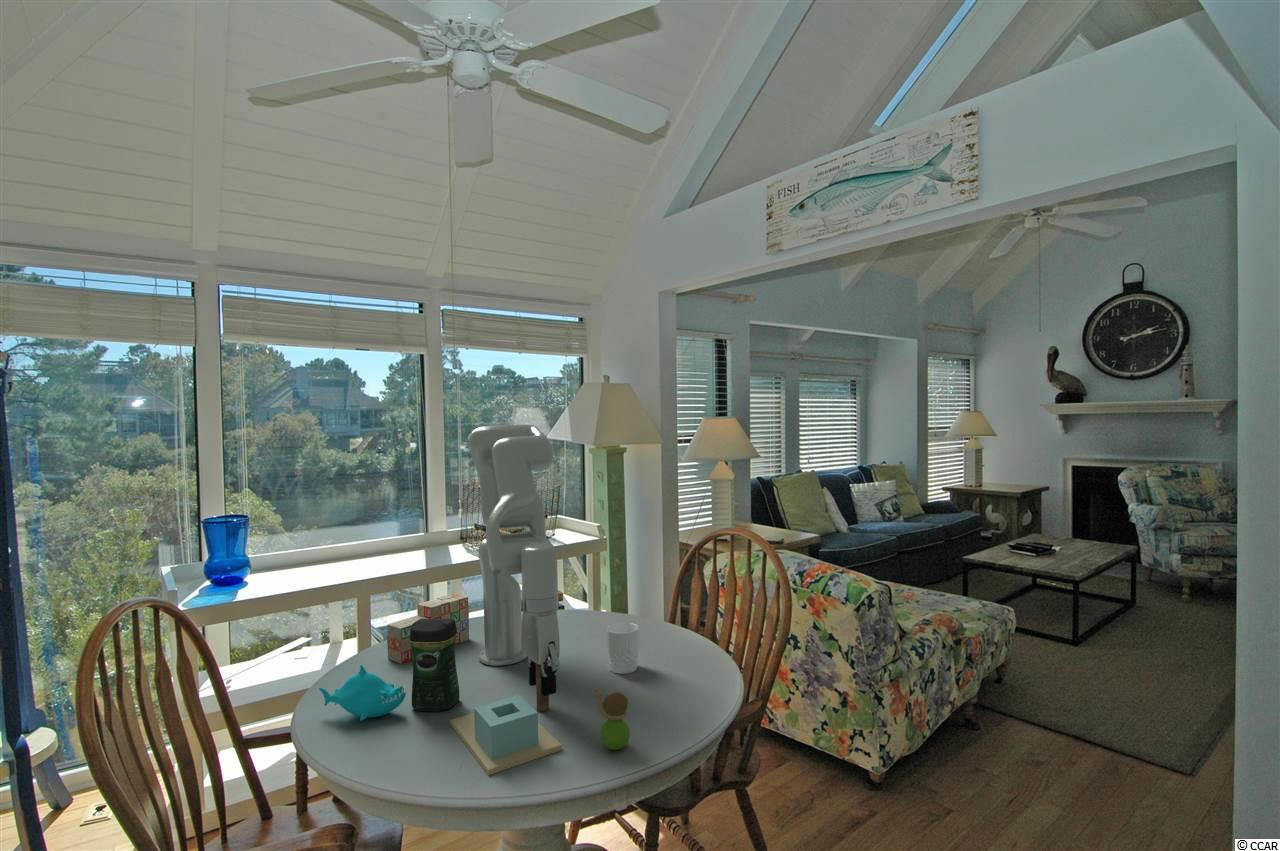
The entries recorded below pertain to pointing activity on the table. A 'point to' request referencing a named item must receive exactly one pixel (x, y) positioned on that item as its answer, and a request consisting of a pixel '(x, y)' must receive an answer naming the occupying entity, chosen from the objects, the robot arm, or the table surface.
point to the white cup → (623, 647)
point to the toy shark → (366, 695)
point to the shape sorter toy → (505, 734)
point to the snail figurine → (613, 719)
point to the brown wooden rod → (541, 700)
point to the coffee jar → (434, 664)
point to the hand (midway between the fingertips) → (542, 688)
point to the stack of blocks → (431, 609)
